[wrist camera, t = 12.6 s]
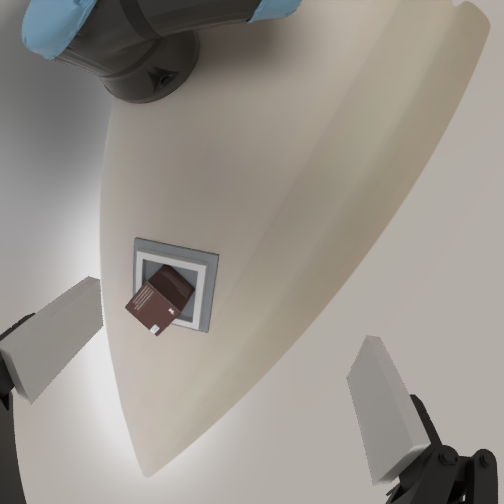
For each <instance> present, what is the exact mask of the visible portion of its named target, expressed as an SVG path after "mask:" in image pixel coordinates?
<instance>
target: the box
mask: <svg viewBox="0 0 504 504" xmlns="http://www.w3.org/2000/svg"><path fill="white" fill-rule="evenodd" d="M194 291H195V288H194V287H192V286H191V285H190V284H189V283H188V282H187V281H186V280H185V279H184V278H183V277H181V276H180V275H179V274H178V273H177V272H176V271H175V270H174V269H173V268H172V267H171V266H170V265H167V264H164V265H163V266H162V267H161V268H160V269H159V270H158V271H157V272H156V273H155V274H154V275H152V276H151V277H150V278H149V279H148V280H147V281H146V282H145V283H144V284H143V285H142V287H141V288H140V289H139V290H138V291H137V293H136V294H135V295H134V296H133V298H132V299H131V300H130V301H129V303H128V304H127V305H126V307H125V308H126V309H127V310H128V311H129V312H130V313H131V314H132V315H133V316H134V317H136V318H137V319H138V320H139V321H140V322H141V323H142V324H143V325H144V326H145V327H147V328H148V329H149V330H150V331H151V332H152V333H153V334H155V335H156V336H158V335H159V334H160V333H161V332H162V331H163V330H164V329H165V328H166V327H168V326H169V325H170V324H171V322H172V321H174V320H175V319H176V318H177V317H178V316H179V315H180V314H181V312H182V311H183V309H184V307H185V306H186V304H187V303H188V301H189V299H190V298H191V296H192V294H193V293H194Z"/></svg>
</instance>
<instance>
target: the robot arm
mask: <svg viewBox="0 0 504 504" xmlns="http://www.w3.org/2000/svg"><path fill="white" fill-rule="evenodd" d="M301 2H302V0H32V1H31V3H30V5H29V7H28V9H27V11H26V14H25V17H24V21H23V25H22V40H23V43H24V45H25V46H26V47H27V48H28V49H29V50H31V51H33V52H35V53H38V54H40V55H42V56H43V57H44V58H45V59H52V60H55V61H58V62H61V63H64V64H67V65H70V66H73V67H76V68H78V69H81V70H84V71H86V72H89V73H91V74H94V75H97V76H98V77H99V79H100V80H101V81H102V82H103V84H104V86H105V87H106V88H107V90H108V91H109V92H110V93H111V94H112V95H114V96H115V97H117V98H120V99H122V100H125V101H128V102H132V103H147V102H151V101H155V100H158V99H160V98H162V97H164V96H166V95H168V94H170V93H171V92H173V91H174V90H175V89H177V88H178V87H179V86H180V85H181V84H182V83H183V82H184V81H185V80H186V79H187V77H188V76H189V75H190V73H191V72H192V70H193V68H194V66H195V64H196V62H197V59H198V55H199V40H198V37H197V34H196V32H195V31H194V30H198V29H203V28H209V27H215V26H221V25H228V24H235V23H244V22H245V24H248V23H253V22H254V21H257V20H265V19H275V18H283V17H287V16H289V15H291V14H292V13H293V12H295V11H296V9H297V8H298V6H299V5H300V4H301ZM102 319H103V318H102V306H101V289H100V280H99V279H95V278H92V277H89V276H88V277H87V278H85V279H84V280H82V281H81V282H79V283H78V284H76V285H75V286H73V287H72V288H71V289H69V290H68V291H66V292H65V293H64V294H62V295H61V296H59V297H58V298H56V299H55V300H54V301H52V302H51V303H50V304H48V305H47V306H45V307H44V308H43V309H41V310H40V311H39V312H37V313H32V314H30V315H27V316H25V317H23V318H22V319H21V320H19V321H18V323H15V324H14V325H13V326H12V328H9V329H8V330H6V331H5V332H4V333H3V334H1V335H0V504H26V500H25V496H24V492H23V488H22V483H21V478H20V472H19V466H18V460H17V452H16V444H15V434H14V419H13V395H12V392H11V390H12V389H13V388H14V387H15V388H16V390H17V392H18V395H19V396H20V397H21V398H23V399H24V400H26V401H27V402H28V403H30V404H32V403H33V402H34V401H35V400H36V399H37V398H38V396H39V395H40V394H41V393H42V392H43V391H44V389H45V388H46V387H47V386H48V385H49V384H50V383H51V382H52V380H53V379H54V378H55V377H56V376H57V375H58V374H59V373H60V371H61V370H62V369H63V368H64V367H65V366H66V365H67V363H68V362H70V360H71V359H72V358H73V357H74V356H75V355H76V354H77V353H78V352H79V351H80V349H82V347H83V346H84V345H85V344H86V343H87V342H88V341H89V340H90V339H91V338H92V337H93V336H94V335H95V334H96V333H97V332H98V331H99V330H100V329H101V327H102V326H103V320H102ZM347 381H348V385H349V389H350V392H351V396H352V399H353V403H354V407H355V411H356V414H357V419H358V422H359V426H360V430H361V434H362V438H363V443H364V447H365V451H366V455H367V459H368V464H369V469H370V473H371V478H372V483H373V485H381V484H388V483H391V482H392V481H393V480H394V479H395V478H396V477H398V476H399V479H400V483H399V484H397V485H396V486H395V487H394V488H393V489H391V490H390V491H389V492H388V493H387V494H386V495H387V496H388V495H390V494H391V493H392V494H391V496H390V497H389V499H388V501H387V502H386V504H498V476H497V462H496V458H495V456H494V455H493V453H492V452H490V451H489V450H487V449H480V450H478V451H477V452H476V453H475V454H474V455H473V456H472V457H466V456H459V455H458V453H457V452H456V451H455V449H453V448H452V447H450V446H447V445H442V443H441V441H440V438H439V436H438V434H437V432H436V430H435V427H434V425H433V423H432V421H431V420H430V417H429V415H428V413H426V412H427V411H426V409H425V407H424V405H423V403H422V401H421V400H420V399H419V398H418V397H417V396H416V395H409V393H408V391H407V389H406V387H405V385H404V383H403V381H402V379H401V377H400V375H399V373H398V371H397V369H396V367H395V365H394V363H393V361H392V359H391V357H390V355H389V354H388V352H387V350H386V348H385V346H384V344H383V342H382V340H381V338H380V337H375V336H366V337H365V339H364V342H363V344H362V346H361V349H360V351H359V353H358V355H357V357H356V359H355V362H354V364H353V366H352V368H351V370H350V372H349V374H348V376H347ZM464 495H465V501H463V496H464Z"/></svg>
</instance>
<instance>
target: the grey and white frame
mask: <svg viewBox="0 0 504 504" xmlns="http://www.w3.org/2000/svg"><path fill="white" fill-rule="evenodd" d="M218 259H219V255H218V254H214V253H209V252H204V251H199V250H194V249H189V248H184V247H179V246H174V245H170V244H165V243H160V242H155V241H150V240H146V239H141V238H135V239H134V260H133V296H134V295H135V294H136V293H137V291H138V290H139V289H140V288H141V287H142V285H143V284H144V283H145V282H146V281H147V280H148V279H149V278H150V277H151V276H152V275H154V274H155V273H156V272H157V271H158V270H159V269H160V268H161V267H162V266H163V265H164V264H167V265H170V266H171V267H172V268H173V269H174V270H175V271H176V272H177V273H178V274H179V275H180V276H181V277H183V278H184V279H185V280H186V281H187V282H188V283H189V284H190V285H191V286H192V287H194V288H195V291H194V293H193V294H192V296H191V298H190V299H189V301H188V303H187V304H186V306H185V307H184V309H183V311H182V312H181V314H180V315H179V316H178V317H177V318H176V319H175V320H174V321H172V322H171V324H173V325H177V326H181V327H185V328H189V329H193V330H197V331H202V332H206V333H208V330H209V322H210V315H211V307H212V300H213V293H214V286H215V279H216V272H217V266H218Z"/></svg>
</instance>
